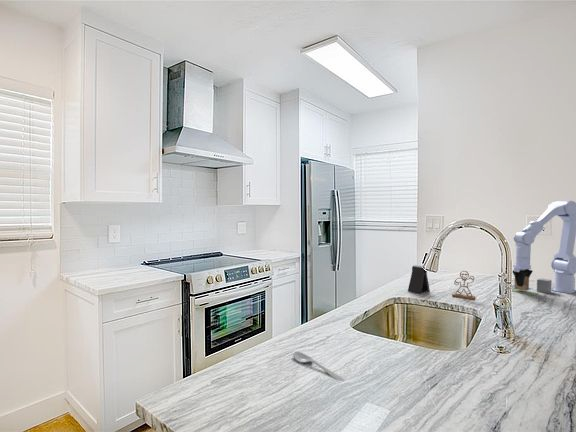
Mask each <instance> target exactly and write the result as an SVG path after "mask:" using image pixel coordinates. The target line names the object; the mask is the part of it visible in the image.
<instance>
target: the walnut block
mask: <svg viewBox="0 0 576 432" xmlns="http://www.w3.org/2000/svg"><path fill="white" fill-rule="evenodd" d="M529 288H530V277H526V276H525V278H524V283H523V286H517V283H516V278H515V277H514V289H518V290H524V291H525V290H528V289H529ZM528 291H529V290H528Z"/></svg>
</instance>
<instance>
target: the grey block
mask: <svg viewBox="0 0 576 432" xmlns="http://www.w3.org/2000/svg"><path fill="white" fill-rule="evenodd" d="M551 289H552V279H547V278H538V279H536V293H544V294H551V293H552V290H551Z"/></svg>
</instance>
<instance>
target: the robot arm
mask: <svg viewBox="0 0 576 432" xmlns="http://www.w3.org/2000/svg"><path fill="white" fill-rule="evenodd" d="M555 216H557V217H558V218H560V219H561V220H562V221H563V222H562V229H561V236H560V243H559V249H558V252H557V253H555V254H554V255H553V259H552V261H550V267H551V268H552V270H553V272H554V287H553V288H551V292H552V291H554V292H559V293H565V294H570V295H571V294H574V293H576V288H575V287H576V286H575V285H576V277H575V275H576V256H575V255H574V250H575V242H576V201H574V200H553V201H552V202H551V203H550V204H548V205H547V209H546V210H545V211H544V212H543V213H542V214H541V215H540V216H539V218H538V219H537V220H532V221H530V222H528V225H526V227H524V228H523V229H522V230H521V231H518V232H516V234H515V235H514V237H513V241H514V243H515V246H516V249H515V250H516V251H515V264H513V265H512V268H513V270H512V274H513V276H514V279H515V278H516V283H517V286H523V283H524V278H525V276H526V277H529V278H530V277H531V275H532V273H533V272H534V271H533V269H532V265H531V254H532V253H531V251H532V250H531V249H532V248H531V247H532V244H534V243H535V240H536V239H535V238H536V237H537V235H539V234H540V233H541V232H543V230H544V226H545V225H546V224H547V223H548V222H550V221H551V220H552V219H553V218H555Z"/></svg>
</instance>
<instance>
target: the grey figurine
mask: <svg viewBox="0 0 576 432" xmlns="http://www.w3.org/2000/svg"><path fill="white" fill-rule="evenodd" d="M459 279H461V281H459V282H458V281H457V280H459ZM467 280H472V281H471V282H467ZM474 280H475V276H474V275H470V274H469V272H468V271H466V270H461V272H460V273H459V277H458V278H456V279H455V280H454V283H453V284H454V285H455V286H458V285H459V287H458V289H457V290H456V292H454V293H453V294H452V296H451V297H452V298H459V299H465V300H471V301H475V300H476V295H473V294H472V292H471V290H470V289H469V284H472V283H473V282H474ZM462 282H463V284H462ZM465 283H466V284H465ZM461 288H463V289H462V291H459V290H460V289H461ZM465 288H466V289H467V291H468V292H467V291H466V290H465ZM463 291H464V293H465V294H464V293H463Z"/></svg>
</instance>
